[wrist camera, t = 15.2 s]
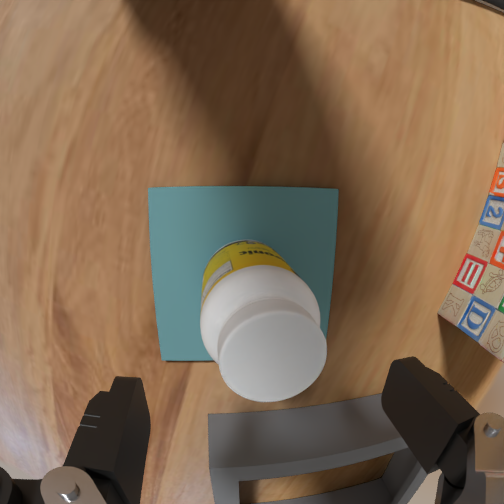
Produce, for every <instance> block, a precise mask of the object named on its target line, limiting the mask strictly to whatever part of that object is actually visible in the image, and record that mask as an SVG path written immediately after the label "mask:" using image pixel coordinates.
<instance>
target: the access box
mask: <svg viewBox="0 0 504 504" xmlns="http://www.w3.org/2000/svg"><path fill="white" fill-rule="evenodd" d="M381 396H382V393H381V394H376V395H372V396H367V397H362V398H357V399H352V400H346V401H341V402H335V403H329V404H322V405H316V406H308V407H301V408H292V409H283V410H273V411H261V412H247V413H226V414H208V440H209V470H210V476H211V483H212V489H213V495H214V501H215V504H239V481H248V480H260V479H270V478H279V477H286V476H293V475H300V474H306V473H312V472H317V471H323V470H328V469H333V468H337V467H342V466H346V465H350V464H354V463H358V462H362V461H366V460H369V459H373V458H376V457H380V456H383V455H386V454H390V453H393V452H394V454H393V456H392V459H391V461H390V462H389V464H388V466H387V468H386V470H385V472H384V474H383V476H382V478H380V479H377V480H373V481H370V482H367V483H363V484H360V485H356V486H352V487H348V488H344V489H340V490H336V491H332V492H327V493H322V494H317V495H312V496H307V497H301V498H295V499H288V500H281V501H273V502H264V503H253V504H407V503H408V502H409V501H410V499H411V498H412V497H413V495H414V494H415V492H416V491H417V490H418V488H419V487H420V485H421V484H422V482H423V481H424V479H425V478H426V476H427V475H428V474H427V473H426V472H425V470H424V469H423V468H422V466H421V465H420V463H419V462H418V460H417V459H416V457H415V456H414V454H413V453H412V451H411V450H410V448H409V447H408V446H407V444H406V443H405V441H404V440H403V438H402V437H401V435H400V434H399V432H398V431H397V430H396V428H395V427H394V425H393V424H392V422H391V421H390V419H389V418H388V416H387V415H386V414H385V412H384V410H383V408H382V404H381Z"/></svg>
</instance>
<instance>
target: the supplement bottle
mask: <svg viewBox="0 0 504 504" xmlns="http://www.w3.org/2000/svg"><path fill="white" fill-rule="evenodd" d="M200 329H201V336H202V340H203V343H204V346H205V348H206V350H207V352H208V353H209V355H210V356H211V357H212V359H213V360H214V361H215V362H216V363H217V364H218V365H219V369H220V372H221V375H222V377H223V379H224V381H225V383H226V384H227V385H228V386H229V388H231V389H232V390H233V391H234V392H235V393H237V394H238V395H240V396H242V397H244V398H247V399H249V400H253V401H258V402H275V401H281V400H285V399H288V398H291V397H293V396H295V395H297V394H299V393H301V392H302V391H304V390H305V389H307V388H308V387H309V386H310V385H311V384H312V383H313V382H314V381H315V380H316V379H317V377H318V376H319V375H320V373H321V371H322V369H323V367H324V364H325V361H326V357H327V344H326V339H325V336H324V334H323V332H322V331H321V329H320V311H319V306H318V303H317V300H316V298H315V296H314V294H313V292H312V291H311V289H310V288H309V287H308V285H307V284H306V283H305V282H304V281H303V280H302V279H301V278H300V276H299V275H298V274H297V273H296V272H295V271H294V270H293V269H292V268H291V267H290V266H289V265H288V264H287V263H286V262H285V261H284V259H283V258H282V257H281V256H280V255H279V254H278V253H277V252H276V251H275V250H274V249H272V248H271V247H270V246H268V245H266V244H264V243H262V242H259V241H255V240H237V241H234V242H231V243H228V244H226V245H224V246H223V247H221V248H220V249H219V250H217V251H216V252H215V253H214V254H213V256H212V257H211V258H210V260H209V261H208V263H207V265H206V268H205V271H204V274H203V281H202V296H201V314H200Z"/></svg>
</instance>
